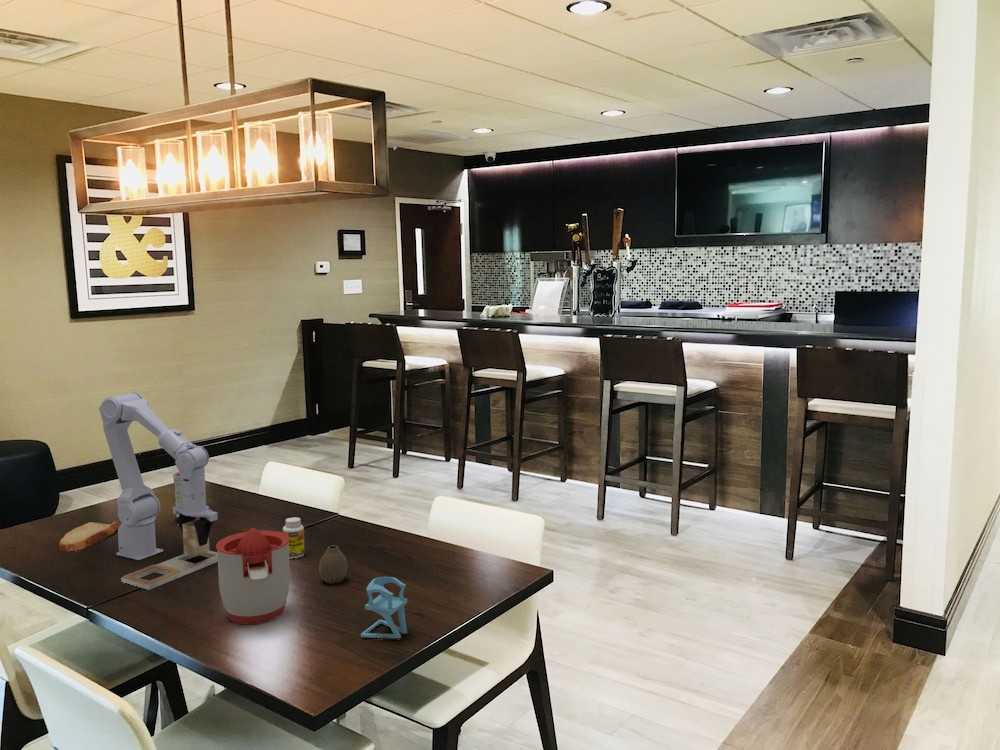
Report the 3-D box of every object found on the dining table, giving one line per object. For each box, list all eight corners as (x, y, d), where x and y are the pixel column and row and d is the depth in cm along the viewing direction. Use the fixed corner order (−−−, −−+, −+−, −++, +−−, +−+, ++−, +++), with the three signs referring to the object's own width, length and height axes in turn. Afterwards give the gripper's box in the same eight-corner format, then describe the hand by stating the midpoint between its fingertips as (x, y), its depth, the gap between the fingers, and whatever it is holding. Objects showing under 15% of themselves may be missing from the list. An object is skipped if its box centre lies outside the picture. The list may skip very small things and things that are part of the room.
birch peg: (183, 553, 205) (182, 524, 204) (197, 548, 209) (196, 519, 208) (195, 556, 203) (194, 526, 202) (209, 550, 207) (208, 521, 206)
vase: (352, 577, 195) (352, 543, 194) (338, 587, 189) (337, 553, 188) (328, 574, 197) (327, 540, 196) (314, 584, 191) (312, 549, 190)
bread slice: (64, 555, 213) (63, 541, 212) (48, 538, 226) (47, 526, 225) (133, 540, 224) (132, 528, 224) (115, 525, 238) (114, 514, 237)
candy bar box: (190, 515, 247) (187, 465, 245) (205, 515, 247) (203, 465, 245) (175, 526, 236) (172, 473, 234) (191, 526, 236) (189, 473, 234)
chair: (394, 645, 159) (394, 589, 157) (359, 638, 162) (359, 583, 161) (413, 630, 166) (412, 576, 164) (379, 623, 169) (378, 570, 168)
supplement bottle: (287, 561, 207) (286, 523, 206) (280, 554, 211) (279, 518, 210) (307, 556, 210) (306, 520, 209) (300, 550, 214) (299, 515, 213)
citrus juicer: (222, 639, 162) (218, 546, 159) (216, 607, 178) (212, 522, 175) (298, 625, 168) (295, 536, 166) (286, 595, 184) (283, 514, 181)
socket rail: (121, 582, 192) (121, 576, 192) (199, 552, 213) (198, 547, 213) (148, 589, 187) (148, 584, 187) (225, 558, 209) (225, 553, 208)
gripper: (225, 493, 204) (227, 543, 206) (187, 486, 211) (189, 534, 213) (204, 499, 198) (206, 551, 200) (165, 492, 205) (167, 542, 207)
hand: (196, 543), depth 206 cm, fingers closed on birch peg, 4 cm apart
